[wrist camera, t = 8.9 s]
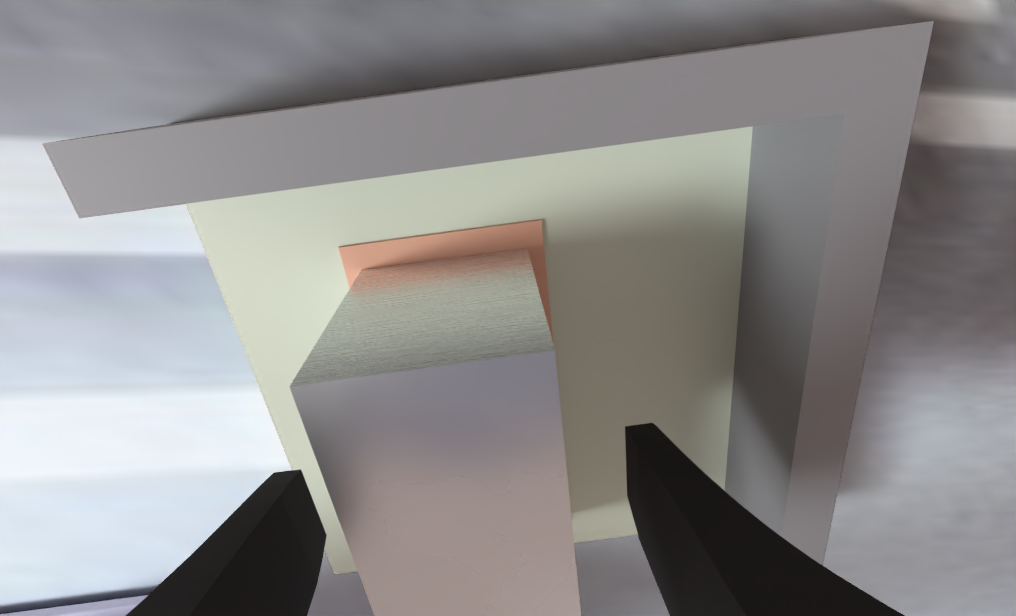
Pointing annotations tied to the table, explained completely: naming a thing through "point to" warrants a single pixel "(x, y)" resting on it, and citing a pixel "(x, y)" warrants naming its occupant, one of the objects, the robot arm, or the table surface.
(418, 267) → the aluminium bar
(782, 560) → the robot arm
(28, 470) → the table surface
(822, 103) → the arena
